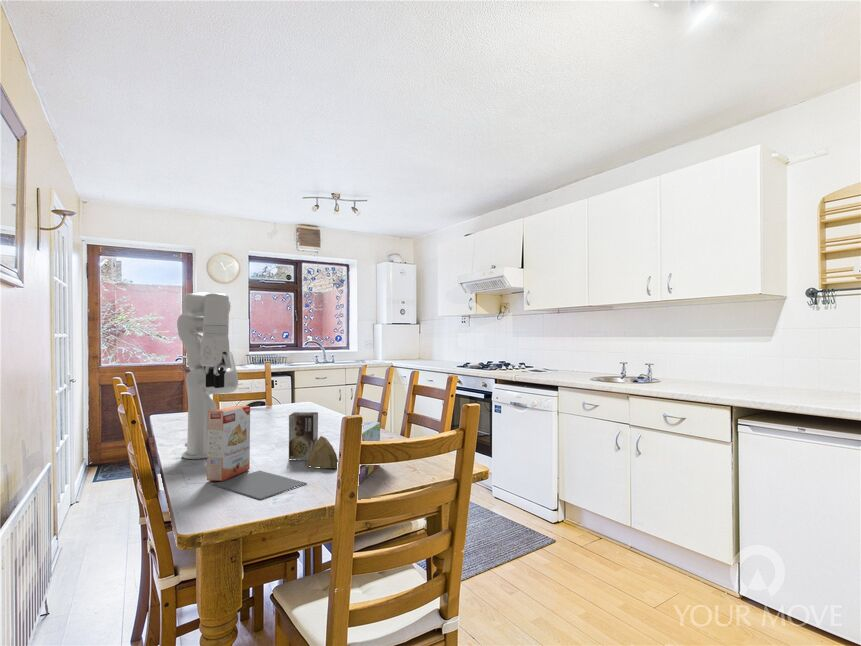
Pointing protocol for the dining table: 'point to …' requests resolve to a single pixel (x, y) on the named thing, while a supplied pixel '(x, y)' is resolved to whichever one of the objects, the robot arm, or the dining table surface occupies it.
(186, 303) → the robot arm
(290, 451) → the coffee box
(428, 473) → the dining table surface
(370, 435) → the snack box
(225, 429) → the cracker box
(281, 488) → the mat
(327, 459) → the rock
